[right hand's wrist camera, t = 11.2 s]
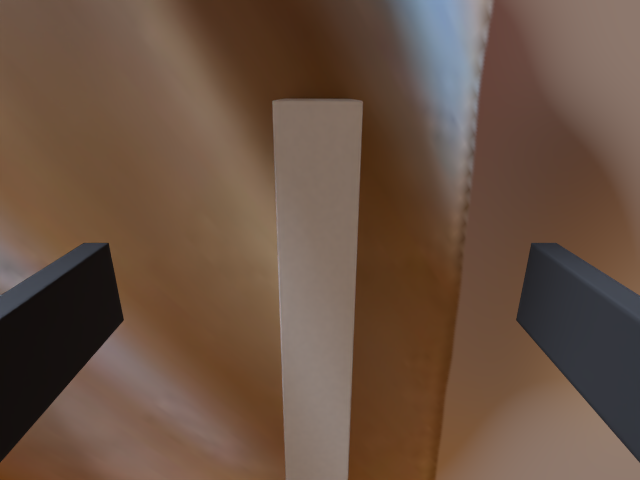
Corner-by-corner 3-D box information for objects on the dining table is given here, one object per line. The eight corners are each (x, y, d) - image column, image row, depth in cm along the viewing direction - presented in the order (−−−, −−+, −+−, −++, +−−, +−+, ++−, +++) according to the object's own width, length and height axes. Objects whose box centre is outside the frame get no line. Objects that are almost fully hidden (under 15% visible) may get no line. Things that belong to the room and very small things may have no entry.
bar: (284, 98, 29) (272, 100, 22) (351, 98, 29) (363, 100, 22) (296, 581, 49) (292, 672, 41) (337, 581, 49) (340, 672, 41)
